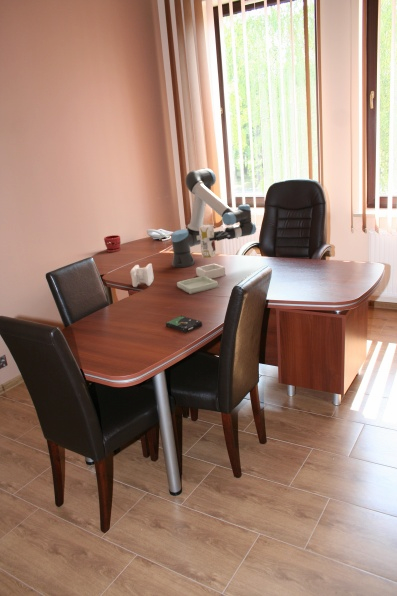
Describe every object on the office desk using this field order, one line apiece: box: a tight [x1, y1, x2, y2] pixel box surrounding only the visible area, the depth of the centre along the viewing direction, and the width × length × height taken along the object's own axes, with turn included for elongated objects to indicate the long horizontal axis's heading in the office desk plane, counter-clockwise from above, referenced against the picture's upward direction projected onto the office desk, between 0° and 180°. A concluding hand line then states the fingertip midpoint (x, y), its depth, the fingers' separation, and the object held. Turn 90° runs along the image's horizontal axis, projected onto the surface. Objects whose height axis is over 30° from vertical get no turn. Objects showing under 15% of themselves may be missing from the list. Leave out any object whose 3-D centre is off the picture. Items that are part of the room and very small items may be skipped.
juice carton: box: [199, 224, 217, 259], centre depth 299 cm, size 8×9×19 cm
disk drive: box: [165, 315, 203, 334], centre depth 230 cm, size 10×3×15 cm
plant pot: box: [103, 234, 122, 253], centre depth 404 cm, size 13×13×12 cm
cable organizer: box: [129, 263, 155, 288], centre depth 301 cm, size 15×11×12 cm
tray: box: [176, 276, 219, 295], centre depth 285 cm, size 18×18×3 cm
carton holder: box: [195, 263, 226, 280], centre depth 305 cm, size 13×13×5 cm
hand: (200, 239), depth 297 cm, fingers closed on juice carton, 9 cm apart
